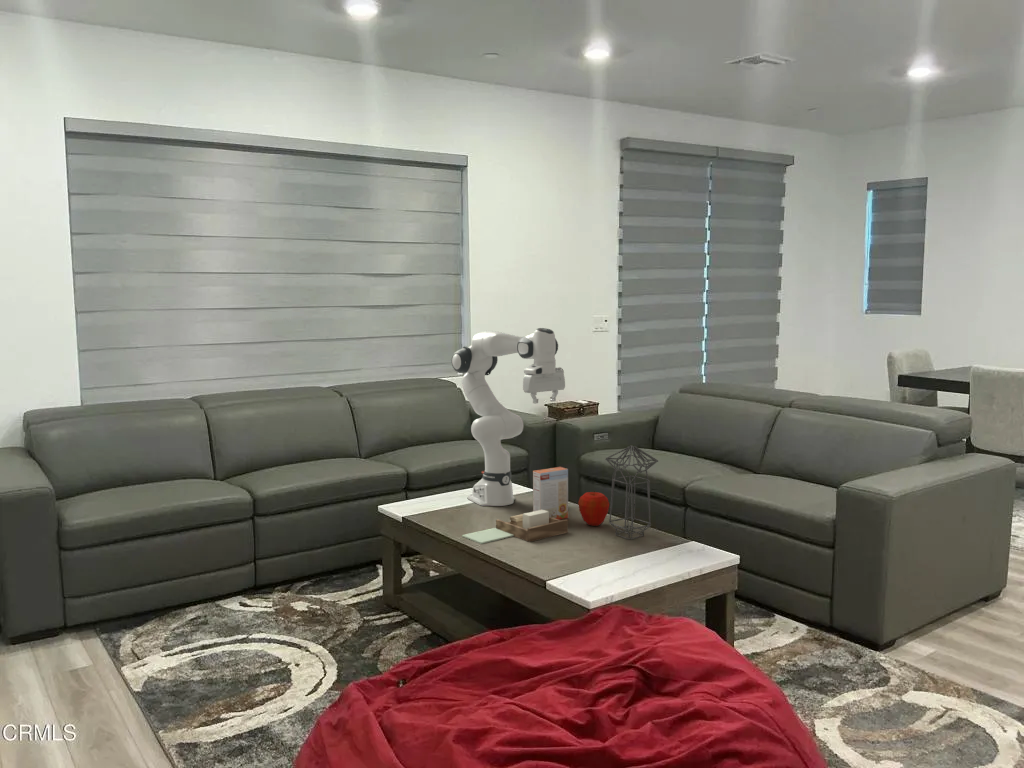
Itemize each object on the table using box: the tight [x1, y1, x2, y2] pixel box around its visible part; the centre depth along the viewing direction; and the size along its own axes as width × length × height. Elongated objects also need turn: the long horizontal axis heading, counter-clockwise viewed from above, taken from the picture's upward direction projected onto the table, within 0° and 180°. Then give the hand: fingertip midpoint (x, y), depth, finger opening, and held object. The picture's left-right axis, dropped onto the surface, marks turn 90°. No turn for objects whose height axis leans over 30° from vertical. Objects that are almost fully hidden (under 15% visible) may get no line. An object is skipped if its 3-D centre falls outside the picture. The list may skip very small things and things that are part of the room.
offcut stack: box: [509, 513, 524, 528], centre depth 341 cm, size 4×10×5 cm, turn 130°
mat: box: [461, 527, 514, 545], centre depth 329 cm, size 12×16×1 cm
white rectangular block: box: [522, 510, 549, 529], centre depth 334 cm, size 4×10×8 cm, turn 129°
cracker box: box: [532, 466, 569, 520], centre depth 352 cm, size 14×6×21 cm, turn 122°
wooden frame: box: [495, 517, 569, 543], centre depth 336 cm, size 20×20×5 cm
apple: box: [577, 491, 611, 527], centre depth 344 cm, size 12×12×14 cm
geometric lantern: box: [605, 445, 659, 540], centre depth 329 cm, size 16×16×35 cm
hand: (544, 402), depth 351 cm, fingers open, 8 cm apart
